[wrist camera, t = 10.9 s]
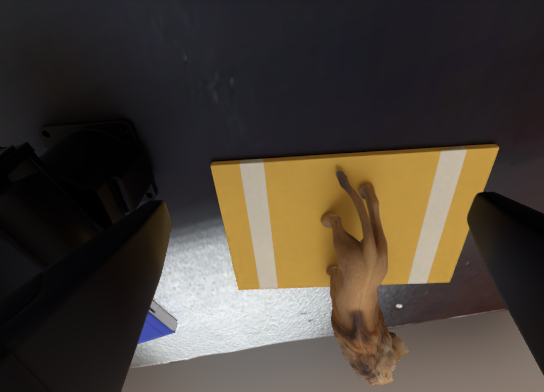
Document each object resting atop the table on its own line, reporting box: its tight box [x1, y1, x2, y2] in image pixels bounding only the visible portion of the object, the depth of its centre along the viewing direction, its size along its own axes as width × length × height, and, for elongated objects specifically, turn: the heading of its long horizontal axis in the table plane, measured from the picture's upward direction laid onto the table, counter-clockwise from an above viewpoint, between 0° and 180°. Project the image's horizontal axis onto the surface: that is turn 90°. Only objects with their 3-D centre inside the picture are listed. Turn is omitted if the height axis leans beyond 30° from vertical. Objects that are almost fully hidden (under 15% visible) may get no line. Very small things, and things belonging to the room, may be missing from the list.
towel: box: [211, 144, 499, 290], centre depth 26 cm, size 20×14×1 cm
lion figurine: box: [321, 170, 409, 385], centre depth 23 cm, size 15×5×9 cm, turn 15°
